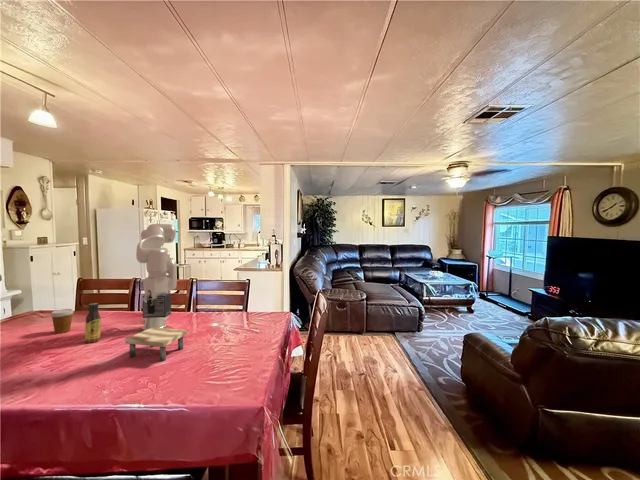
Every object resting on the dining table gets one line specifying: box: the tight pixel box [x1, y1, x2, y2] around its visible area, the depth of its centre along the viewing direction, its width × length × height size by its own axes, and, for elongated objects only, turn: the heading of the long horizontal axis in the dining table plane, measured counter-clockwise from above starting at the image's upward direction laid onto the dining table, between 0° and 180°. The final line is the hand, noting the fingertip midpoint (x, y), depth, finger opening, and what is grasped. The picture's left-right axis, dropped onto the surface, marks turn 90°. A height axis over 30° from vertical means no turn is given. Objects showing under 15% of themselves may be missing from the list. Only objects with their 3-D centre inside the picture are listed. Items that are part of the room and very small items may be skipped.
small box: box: [142, 292, 172, 319], centre depth 131 cm, size 11×6×10 cm, turn 95°
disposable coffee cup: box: [50, 308, 75, 335], centre depth 155 cm, size 10×10×12 cm
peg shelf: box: [124, 327, 188, 362], centre depth 131 cm, size 16×20×9 cm
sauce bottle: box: [84, 302, 102, 344], centre depth 143 cm, size 7×6×20 cm
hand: (157, 310), depth 131 cm, fingers closed on small box, 7 cm apart
